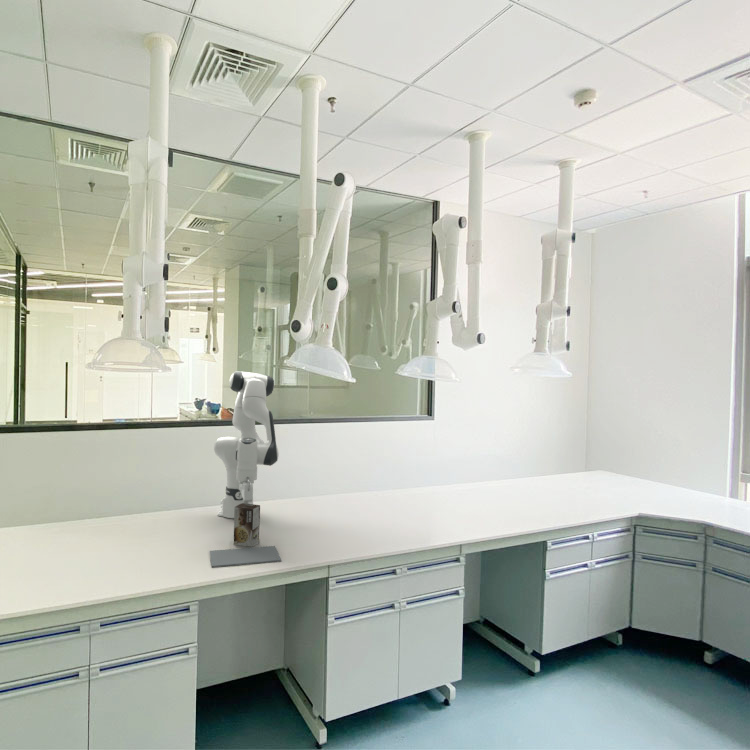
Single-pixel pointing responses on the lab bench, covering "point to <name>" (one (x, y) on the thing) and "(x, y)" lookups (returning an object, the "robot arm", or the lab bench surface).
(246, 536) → the coffee box
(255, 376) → the robot arm
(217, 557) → the mat
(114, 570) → the lab bench surface
